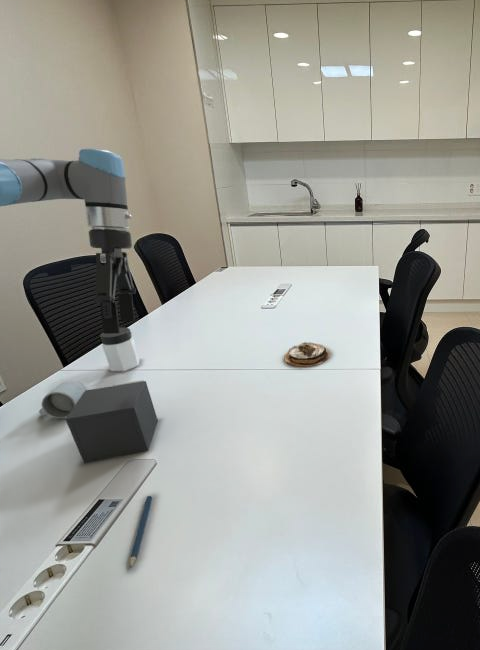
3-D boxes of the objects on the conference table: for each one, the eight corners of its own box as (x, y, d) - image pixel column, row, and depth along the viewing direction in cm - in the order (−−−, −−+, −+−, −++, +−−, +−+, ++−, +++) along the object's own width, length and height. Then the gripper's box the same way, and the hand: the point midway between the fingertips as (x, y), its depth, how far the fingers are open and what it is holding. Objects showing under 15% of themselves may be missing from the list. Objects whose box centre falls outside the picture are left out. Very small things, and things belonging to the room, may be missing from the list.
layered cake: (339, 354, 130) (338, 343, 128) (304, 371, 120) (303, 359, 118) (310, 342, 139) (309, 332, 137) (275, 357, 129) (274, 346, 127)
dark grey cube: (101, 431, 95) (85, 390, 90) (158, 420, 98) (145, 380, 94) (83, 463, 85) (65, 419, 80) (148, 450, 88) (133, 407, 83)
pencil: (152, 498, 75) (134, 568, 62) (147, 500, 75) (127, 570, 62) (151, 495, 75) (133, 565, 62) (145, 496, 75) (126, 566, 62)
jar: (146, 360, 130) (136, 327, 125) (130, 372, 122) (119, 337, 118) (121, 359, 131) (111, 326, 126) (104, 371, 123) (92, 337, 118)
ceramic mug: (93, 399, 108) (83, 375, 105) (80, 416, 101) (69, 391, 98) (51, 405, 106) (40, 381, 103) (34, 423, 99) (21, 397, 96)
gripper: (113, 228, 72) (125, 338, 77) (142, 231, 95) (150, 316, 100) (65, 226, 70) (80, 340, 75) (106, 230, 93) (116, 317, 98)
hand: (120, 326), depth 87 cm, fingers open, 13 cm apart
